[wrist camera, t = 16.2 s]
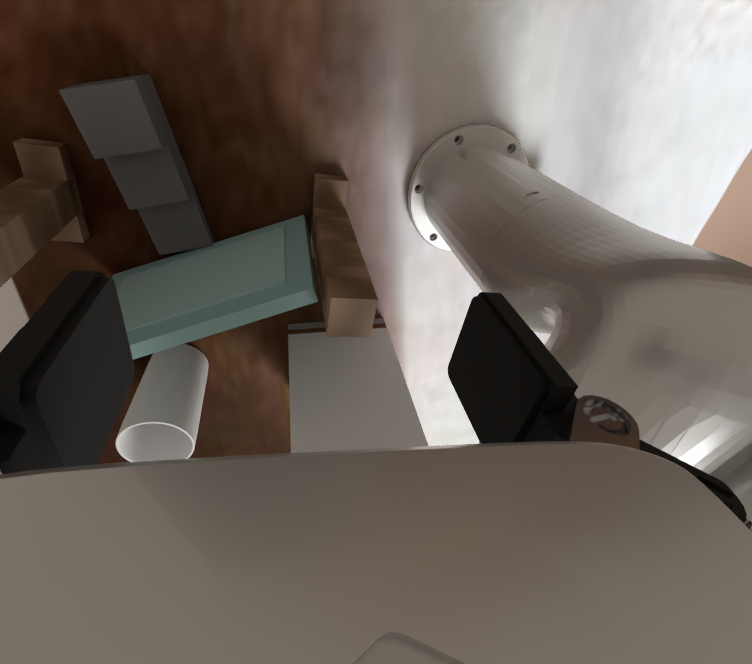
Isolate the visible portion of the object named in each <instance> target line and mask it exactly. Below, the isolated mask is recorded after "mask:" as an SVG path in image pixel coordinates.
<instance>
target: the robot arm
mask: <svg viewBox="0 0 752 664" xmlns="http://www.w3.org/2000/svg"><path fill="white" fill-rule="evenodd" d="M456 136H458V139H457V140H456V141H454V139H455V137H456ZM509 145H510V147H509V148H508V146H509ZM507 148H508V149H507ZM417 185H419V187H418V188H415V187H416V186H417ZM408 209H409V214H410V217H411V220H412V223H413V224H414V226H415V228H416V230H417V231H418V232H419V234H420V235H421V236H422V238H423V239H425V240H426V241H427V242H428V243H429V244H431V245H433V246H434V247H436V248H438V249H441V250H445V251H449V252H453V253H454V255H455V256H456V257H457V259H458V260H459V261H460V262H461V264H462V265H463V266H464V268H465V269H466V270H467V272H468V273H469V274H470V276H471V277H472V278H473V280H474V281H475V282H476V284H477V285H478V286H479V287H480V289H481V290H482V291H483V292H481V293H479V295H478V296H477V297H476V296H475V297H474V298H473V299H472V301H471V304H470V306H469V309H468V312H467V315H466V318H465V320H464V323H463V326H462V329H461V332H460V335H459V337H458V340H457V343H456V346H455V349H454V351H453V354H452V357H451V360H450V363H449V366H448V375H449V378H450V380H451V382H452V385H453V387H454V389H455V391H456V393H457V395H458V397H459V399H460V401H461V403H462V405H463V407H464V410H465V412H466V414H467V416H468V418H469V420H470V422H471V424H472V426H473V428H474V430H475V432H476V435H477V437H478V439H479V444H465V445H443V446H421V447H399V448H379V449H359V450H339V451H320V452H300V453H281V454H263V455H245V456H227V457H209V458H191V459H173V460H157V461H141V462H125V463H110V464H98V462H99V460H100V457H101V455H102V452H103V450H104V448H105V445H106V443H107V440H108V438H109V436H110V433H111V431H112V428H113V426H114V423H115V421H116V419H117V416H118V414H119V411H120V409H121V407H122V404H123V402H124V399H125V397H126V395H127V392H128V390H129V387H130V385H131V383H132V380H133V377H134V362H133V358H132V354H131V349H130V345H129V341H128V337H127V332H126V328H125V324H124V320H123V315H122V311H121V307H120V303H119V298H118V294H117V290H116V285H115V282H114V280H113V279H112V278H106V276H105V275H104V273H102V272H95V271H76V270H74V271H71V272H70V273H69V274H68V275H67V276H66V278H65V279H64V280H63V281H62V282H61V283H60V285H59V286H58V287H57V288H56V289H55V291H54V292H53V293H52V294H51V295H50V296H49V298H48V299H47V300H46V301H45V302H44V303H43V305H42V306H41V307H40V308H39V309H38V311H37V312H36V313H35V314H34V315H33V316H32V318H31V319H30V320H29V321H28V322H27V323H26V325H25V326H24V327H23V328H22V329H20V330H19V331H18V333H17V334H16V335H15V336H14V337H13V338H12V340H11V341H10V342H9V343H8V344H7V345H6V347H5V348H4V349H3V350H2V351H1V352H0V664H752V267H750V266H748V265H745V264H743V263H741V262H738V261H736V260H733V259H730V258H727V257H724V256H720V255H718V254H715V253H712V252H709V251H705V250H702V249H699V248H696V247H693V246H690V245H687V244H684V243H681V242H678V241H675V240H672V239H669V238H667V237H664V236H662V235H659V234H656V233H654V232H651V231H649V230H646V229H644V228H641V227H639V226H637V225H635V224H633V223H631V222H629V221H627V220H625V219H623V218H621V217H619V216H617V215H615V214H613V213H611V212H609V211H607V210H605V209H604V208H602V207H600V206H598V205H596V204H595V203H593V202H591V201H589V200H587V199H585V198H584V197H582V196H580V195H578V194H577V193H575V192H573V191H571V190H570V189H568V188H566V187H564V186H562V185H561V184H559V183H557V182H555V181H554V180H552V179H550V178H548V177H547V176H545V175H543V174H541V173H540V172H538V171H536V170H534V169H532V168H531V167H529V163H528V160H527V157H526V154H525V152H524V150H523V148H522V147H521V145H520V143H519V142H518V141H517V140H516V139H515V138H514V137H513V136H512V135H510V134H509V133H507V132H505V131H503V130H502V129H499V128H497V127H494V126H491V125H485V124H473V125H466V126H463V127H459V128H456V129H454V130H452V131H450V132H448V133H446V134H444V135H443V136H442V137H440V138H439V139H438V140H436V141H435V142H434V143H433V144H432V145H431V146H430V147H429V148H428V149H427V150H426V151H425V152H424V154H423V156H422V157H421V159H420V160H419V162H418V163H417V165H416V167H415V169H414V172H413V174H412V176H411V180H410V184H409V188H408ZM431 234H433V235H431ZM430 235H431V236H430ZM533 331H535V332H540V333H548V334H551V336H550V337H549V339H548V340H547V342H546V343H545V345H544V344H543V343H542V342H541V340H540V339H539V338H538V337H537V336H536V334H535V333H534V332H533Z"/></svg>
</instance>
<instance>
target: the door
mask: <svg viewBox="0 0 752 664" xmlns="http://www.w3.org/2000/svg"><path fill="white" fill-rule="evenodd" d="M112 279H113V280H114V282H115V285H116V290H117V294H118V298H119V303H120V307H121V311H122V315H123V320H124V324H125V328H126V332H127V337H128V341H129V345H130V349H131V354H132V358H133V359H136V358H140V357H143V356H146V355H149V354H152V353H156V352H159V351H162V350H165V349H168V348H172V347H175V346H178V345H181V344H184V343H188V342H191V341H194V340H197V339H200V338H204V337H207V336H210V335H213V334H216V333H219V332H223V331H226V330H229V329H232V328H235V327H239V326H242V325H245V324H248V323H251V322H255V321H258V320H261V319H264V318H267V317H271V316H274V315H277V314H280V313H283V312H286V311H290V310H293V309H296V308H299V307H302V306H306V305H309V304H312V303H315V302H318V301H319V300H318V293H317V286H316V279H315V272H314V265H313V258H312V250H311V243H310V236H309V229H308V224H307V222H306V219H305V216H304V215H301V216H298V217H295V218H292V219H289V220H285V221H282V222H279V223H276V224H273V225H269V226H266V227H263V228H260V229H257V230H253V231H250V232H247V233H244V234H241V235H237V236H234V237H231V238H228V239H225V240H222V241H218V242H215V243H213V246H209V247H203V248H197V249H193V250H190V251H186V252H183V253H180V254H177V255H174V256H170V257H167V258H164V259H161V260H158V261H155V262H151V263H148V264H145V265H142V266H139V267H135V268H132V269H129V270H126V271H123V272H119V273H116V274H114V275H113V276H112Z"/></svg>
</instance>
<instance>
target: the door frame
mask: <svg viewBox="0 0 752 664" xmlns="http://www.w3.org/2000/svg"><path fill="white" fill-rule="evenodd" d="M13 145H14V148H15V151H16V154H17V157H18V160H19V163H20V166H21V169H22V172H23V175H24V176H22V177H21V178H19V179H17V180H16V181H14V182H12V183H10V184H9V185H7V186H5V187H4V188H2V189H0V287H1V286H2V285H3V284H4V283H5V282H6V281H8V280H9V279H10V278H11V277H12V276H13V275H14V274H15V273H16V272H17V271H18V270H19V269H20V268H21V267H22V266H24V265H25V264H26V263H27V262H28V261H29V260H30V259H31V258H32V257H33V256H34V255H35V254H36V253H37V252H38V251H40V250H41V249H42V248H43V247H44V246H45V245H46V244H47V243H48V242H49V241H50V240H51V241H65V242H80V243H84V242H85V241H86V240H87V239H88V238H89V237H90V234H89V230H88V226H87V222H86V218H85V214H84V210H83V206H82V202H81V198H80V194H79V190H78V187H77V183H76V179H75V175H74V171H73V167H72V163H71V159H70V155H69V151H68V147H67V144H66V143H61V142H53V141H44V140H36V139H28V138H21V139H19V140H16V141H14V142H13ZM347 190H348V179H347V177H344V176H335V175H327V174H319V173H315V176H314V189H313V202H312V215H311V228H310V243H311V250H312V258H315V263H316V269H317V276H318V283H319V289H320V296H321V303H322V309H323V316H324V323H325V329H326V336H336V337H371V332H372V327H373V322H374V317H375V312H376V307H377V302H378V299H377V296H376V293H375V290H374V287H373V285H372V282H371V279H370V276H369V273H368V271H367V268H366V265H365V262H364V259H363V257H362V254H361V251H360V248H359V245H358V243H357V240H356V237H355V234H354V231H353V229H352V226H351V223H350V220H349V217H348V215H347V212H346V209H345V206H346V198H347Z"/></svg>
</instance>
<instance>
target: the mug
mask: <svg viewBox="0 0 752 664" xmlns="http://www.w3.org/2000/svg"><path fill="white" fill-rule="evenodd" d="M207 374H208V361H207V358H206V357H205V355H204V354H203V353H202V352H201V351H200V350H198V349H197V348H195V347H193V346H190V345H187V344H181V345H178V346H175V347H172V348H168V349H165V350H162V351H159V352H156V353H153V355H152V357H151V359H150V361H149V363H148V365H147V367H146V370H145V372H144V374H143V377H142V379H141V382H140V384H139V386H138V389H137V391H136V393H135V396H134V398H133V400H132V402H131V405H130V407H129V409H128V412H127V414H126V416H125V419H124V421H123V423H122V426H121V428H120V431H119V434H118V436H117V439H116V448H117V450H118V452H119V453H120V455H121V456H122V457H124V458H125V459H126V460H128V461H130V462H141V461H157V460H173V459H188V458H189V457H190V456H191V455H192V453H193V451H194V448H195V443H196V438H197V432H198V427H199V421H200V415H201V409H202V403H203V397H204V392H205V386H206V380H207Z"/></svg>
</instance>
